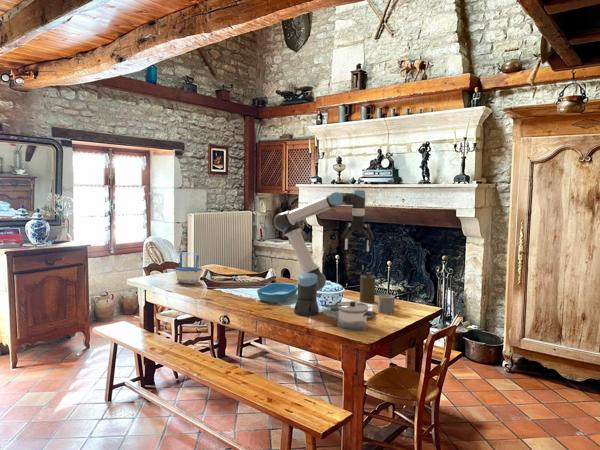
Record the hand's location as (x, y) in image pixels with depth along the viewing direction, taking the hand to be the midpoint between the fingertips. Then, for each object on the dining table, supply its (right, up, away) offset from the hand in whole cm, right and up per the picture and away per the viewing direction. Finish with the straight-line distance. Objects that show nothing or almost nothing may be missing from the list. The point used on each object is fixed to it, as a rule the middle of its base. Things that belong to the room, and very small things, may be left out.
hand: (356, 250), depth 256 cm
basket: (-123, -30, +75) cm, 147 cm away
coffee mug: (+20, -39, +9) cm, 45 cm away
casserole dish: (-50, -35, +36) cm, 71 cm away
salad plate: (-1, -39, 0) cm, 39 cm away
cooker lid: (-6, -30, -25) cm, 40 cm away
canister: (+11, -37, +33) cm, 51 cm away
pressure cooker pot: (-6, -40, -25) cm, 48 cm away
